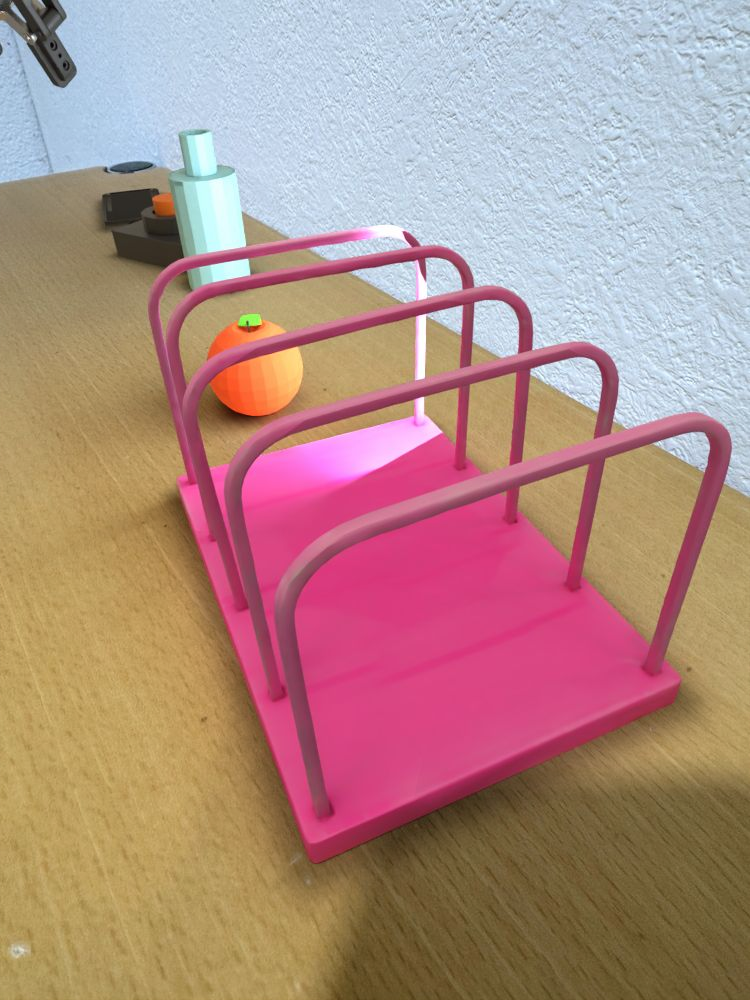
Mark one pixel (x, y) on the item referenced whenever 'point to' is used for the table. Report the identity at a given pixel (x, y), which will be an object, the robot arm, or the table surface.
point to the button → (163, 204)
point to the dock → (150, 239)
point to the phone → (125, 206)
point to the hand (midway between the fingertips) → (29, 69)
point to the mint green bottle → (207, 208)
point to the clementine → (256, 370)
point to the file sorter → (412, 569)
